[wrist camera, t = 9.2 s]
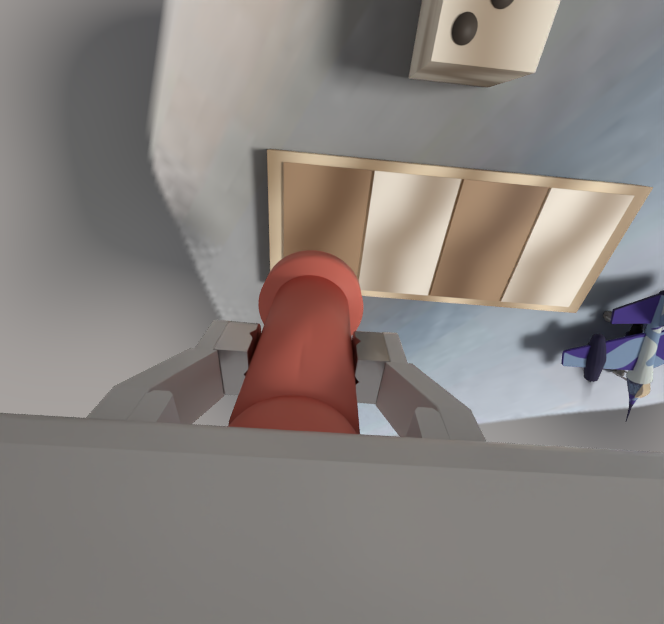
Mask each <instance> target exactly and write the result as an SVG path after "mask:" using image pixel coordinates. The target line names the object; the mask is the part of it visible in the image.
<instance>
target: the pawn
mask: <svg viewBox="0 0 664 624" xmlns="http://www.w3.org/2000/svg"><path fill="white" fill-rule="evenodd" d="M259 313H260V316H261V319H262V321H263V323H264V327H263V330H262V333H261V335H260V338H259V341H258V344H257V346H256V349H255V352H254V354H253V357H252V360H251V363H250V365H249V368H248V371H247V374H246V376H245V379H244V382H243V384H242V387H241V390H240V393H239V395H238V398H237V401H236V404H235V406H234V409H233V412H232V414H231V417H230V420H229V426H228V427H245V428H263V429H278V430H294V431H314V432H331V433H347V434H360V429H359V418H358V407H357V395H356V384H355V372H354V361H353V350H352V338H351V336H352V335H353V332H354V331H356V329H357V328H358V326H359V324H360V322H361V319H362V315H363V300H362V295H361V289H360V284H359V281H358V279H357V277H356V275H355V273H354V272H353V270H352V269H351V268H350V267H349V266H348V265H347V264H346V263H345V262H344V261H343V260H341V259H340V258H338V257H336V256H334V255H332V254H330V253H326V252H323V251H317V250H306V251H299V252H295V253H293V254H290V255H288V256H286V257H284V258H283V259H281V260H280V261H279V262H278V263H277V264H276V265H275V266H274V267H273V268H272V269H271V271H270V273H269V274H268V276H267V278H266V281H265V283H264V285H263V287H262V289H261V292H260V296H259Z"/></svg>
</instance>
